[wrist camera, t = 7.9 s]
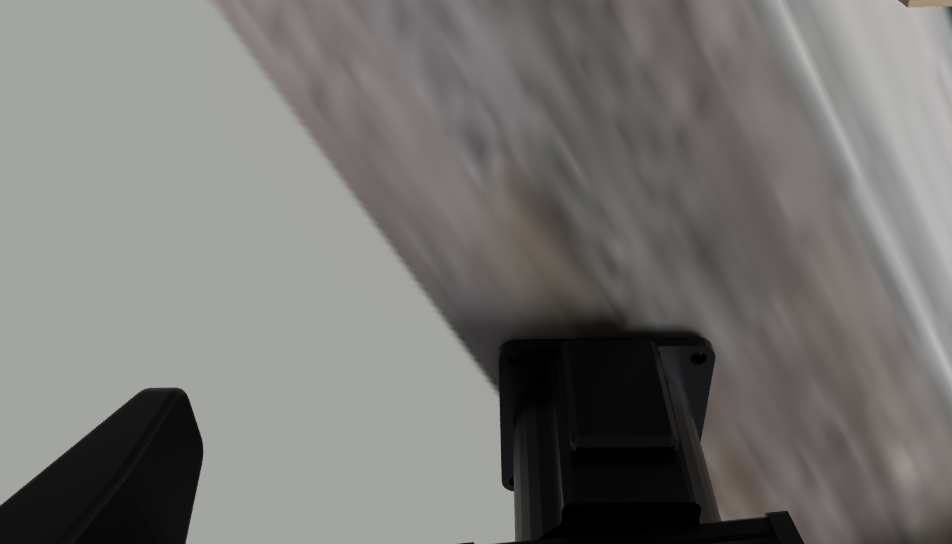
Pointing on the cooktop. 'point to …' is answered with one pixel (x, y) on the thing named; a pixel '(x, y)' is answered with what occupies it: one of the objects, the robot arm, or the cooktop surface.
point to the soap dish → (926, 3)
